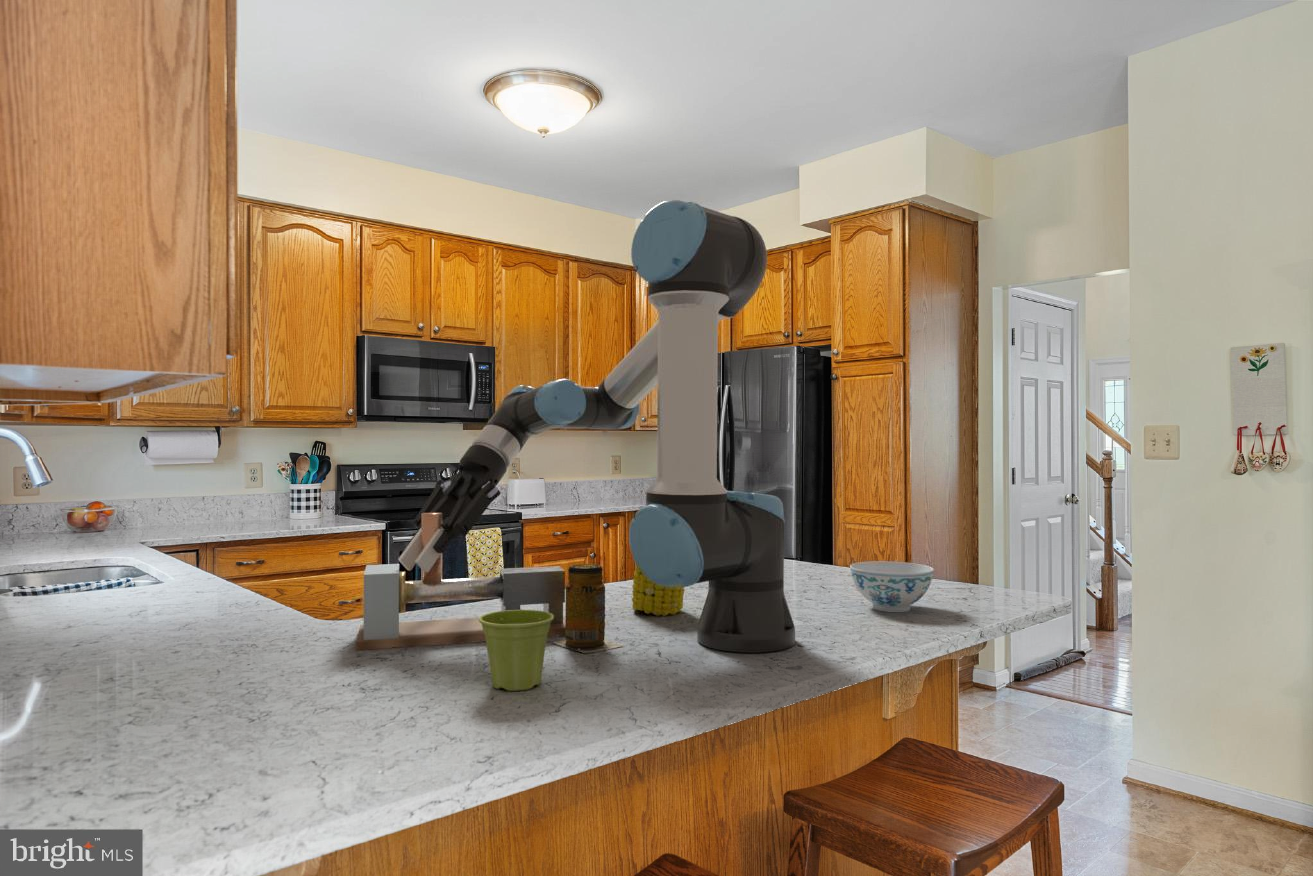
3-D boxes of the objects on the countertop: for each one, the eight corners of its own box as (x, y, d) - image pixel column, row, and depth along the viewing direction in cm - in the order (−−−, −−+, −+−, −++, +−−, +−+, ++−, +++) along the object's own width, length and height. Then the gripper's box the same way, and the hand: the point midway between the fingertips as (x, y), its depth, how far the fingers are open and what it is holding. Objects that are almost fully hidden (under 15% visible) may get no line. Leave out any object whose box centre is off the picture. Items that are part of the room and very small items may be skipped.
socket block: (399, 623, 132) (399, 563, 132) (398, 637, 122) (398, 573, 122) (366, 625, 130) (366, 565, 130) (363, 640, 121) (363, 574, 121)
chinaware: (880, 597, 161) (880, 559, 161) (949, 609, 149) (949, 567, 149) (833, 607, 151) (833, 566, 151) (904, 621, 140) (904, 576, 140)
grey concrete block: (559, 616, 137) (559, 566, 137) (564, 623, 132) (565, 570, 132) (499, 620, 134) (499, 568, 134) (503, 627, 129) (503, 573, 129)
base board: (558, 619, 141) (558, 612, 141) (572, 635, 129) (572, 627, 129) (360, 632, 131) (360, 624, 131) (355, 650, 120) (356, 642, 120)
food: (631, 615, 151) (684, 618, 151) (630, 614, 140) (688, 617, 140) (635, 534, 155) (687, 537, 155) (634, 526, 143) (691, 529, 143)
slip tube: (508, 602, 135) (508, 510, 135) (513, 609, 129) (513, 513, 129) (379, 609, 129) (379, 513, 129) (378, 618, 123) (378, 516, 123)
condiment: (591, 636, 128) (591, 561, 128) (623, 647, 122) (623, 567, 122) (552, 644, 124) (552, 565, 124) (583, 655, 117) (583, 572, 117)
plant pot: (473, 678, 105) (473, 611, 106) (544, 671, 109) (544, 606, 109) (484, 699, 97) (484, 627, 97) (561, 691, 100) (561, 621, 100)
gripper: (535, 473, 137) (462, 585, 123) (466, 471, 146) (391, 576, 132) (513, 442, 133) (435, 554, 119) (444, 442, 142) (364, 547, 128)
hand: (412, 565), depth 125 cm, fingers closed on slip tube, 3 cm apart
